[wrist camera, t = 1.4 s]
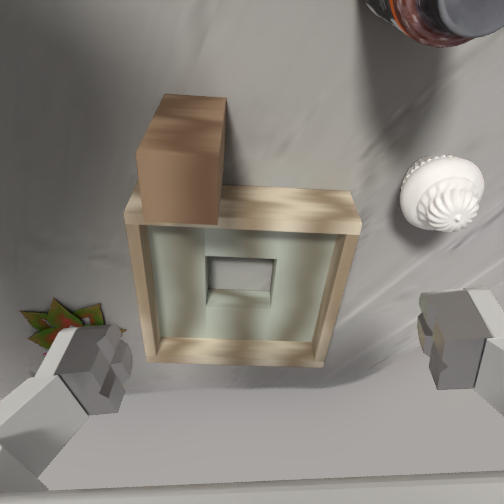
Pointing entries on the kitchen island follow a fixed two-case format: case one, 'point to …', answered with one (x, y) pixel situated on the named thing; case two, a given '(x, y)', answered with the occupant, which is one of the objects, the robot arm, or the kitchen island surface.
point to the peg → (183, 160)
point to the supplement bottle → (441, 19)
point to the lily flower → (60, 322)
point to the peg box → (243, 301)
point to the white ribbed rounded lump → (441, 193)
